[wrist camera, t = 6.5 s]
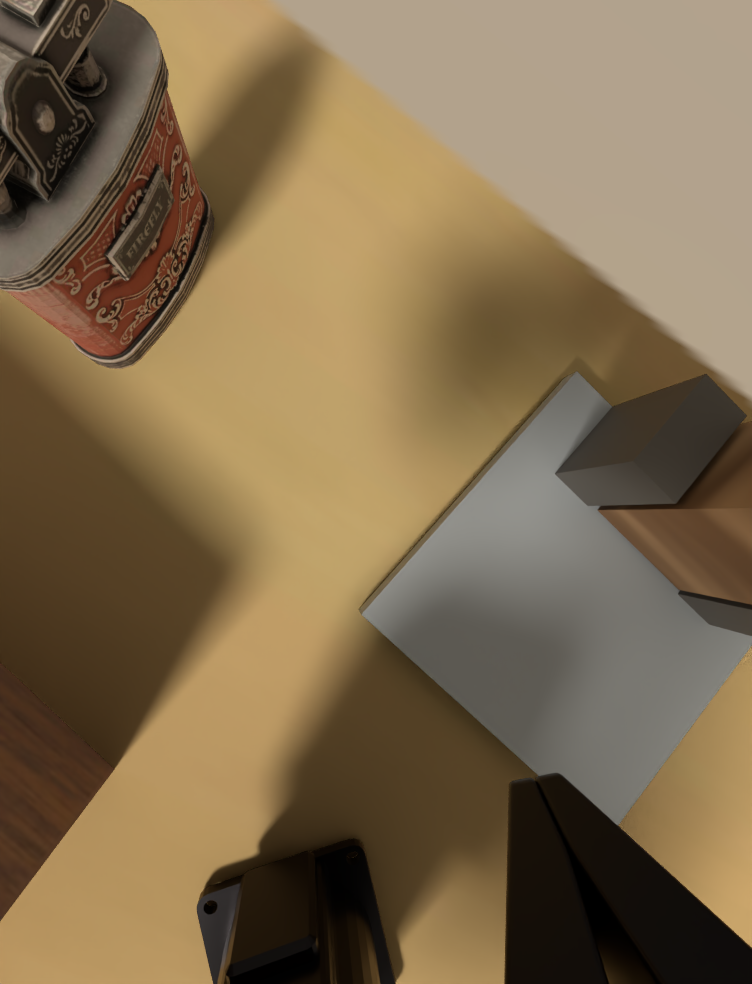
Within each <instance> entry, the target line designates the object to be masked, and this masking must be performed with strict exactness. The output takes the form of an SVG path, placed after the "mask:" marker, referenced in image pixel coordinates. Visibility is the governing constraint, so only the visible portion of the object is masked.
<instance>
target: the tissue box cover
mask: <svg viewBox="0 0 752 984" xmlns="http://www.w3.org/2000/svg"><path fill="white" fill-rule="evenodd" d="M113 770H114V768H112V767H111V766H110V765H109V764H108V763H107V762H106V761H105V760H104V759H103V758H102V757H101V756H100V755H99V754H98V753H96V752H95V751H94V750H93V749H92V748H91V747H90V746H89V745H88V744H87V743H86V742H85V741H84V740H83V739H81V738H80V737H79V736H78V735H77V734H76V733H75V732H74V731H73V730H72V729H71V728H70V727H69V726H68V725H67V724H65V723H64V722H63V721H62V720H61V719H60V718H59V717H58V716H57V715H56V714H55V713H54V712H53V711H52V710H50V709H49V708H48V707H47V706H46V705H45V704H44V703H43V702H42V701H41V700H40V699H39V698H38V697H37V696H36V695H34V694H33V693H32V692H31V691H30V690H29V689H28V688H27V687H26V686H25V685H24V684H23V683H22V682H21V681H19V680H18V679H17V678H16V677H15V676H14V675H13V674H12V673H11V672H10V671H9V670H8V669H7V668H6V667H4V666H3V665H2V664H1V663H0V921H1V919H2V918H3V917H4V915H5V914H6V913H7V911H8V910H9V909H10V907H11V906H12V905H13V903H14V902H15V901H16V899H17V898H18V897H19V895H20V894H21V893H22V891H23V890H24V889H25V887H26V886H27V885H28V883H29V882H30V881H31V879H32V878H33V877H34V876H35V874H36V873H37V872H38V870H39V869H40V868H41V866H42V865H43V864H44V862H45V861H46V860H47V858H48V857H49V856H50V854H51V853H52V852H53V850H54V849H55V848H56V846H57V845H58V844H59V842H60V841H61V840H62V838H63V837H64V836H65V834H66V833H67V832H68V830H69V829H70V828H71V826H72V825H73V824H74V822H75V821H76V820H77V818H78V817H79V816H80V814H81V813H82V812H83V810H84V809H85V808H86V806H87V805H88V804H89V802H90V801H91V800H92V798H93V797H94V796H95V794H96V793H97V792H98V790H99V789H100V788H101V786H102V785H103V784H104V782H105V781H106V780H107V778H108V777H109V776H110V774H111V773H112V772H113Z"/></svg>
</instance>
